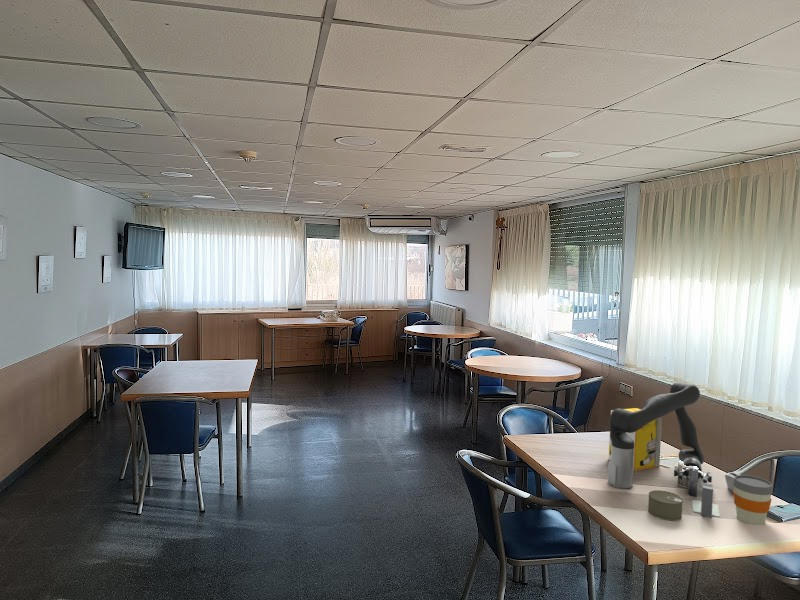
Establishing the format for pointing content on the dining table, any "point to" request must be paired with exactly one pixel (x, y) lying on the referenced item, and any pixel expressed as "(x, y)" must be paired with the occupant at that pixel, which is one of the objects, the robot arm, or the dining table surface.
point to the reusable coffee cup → (752, 498)
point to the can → (665, 505)
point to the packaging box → (645, 444)
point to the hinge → (730, 480)
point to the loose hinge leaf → (692, 481)
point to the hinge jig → (706, 502)
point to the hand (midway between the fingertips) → (692, 479)
